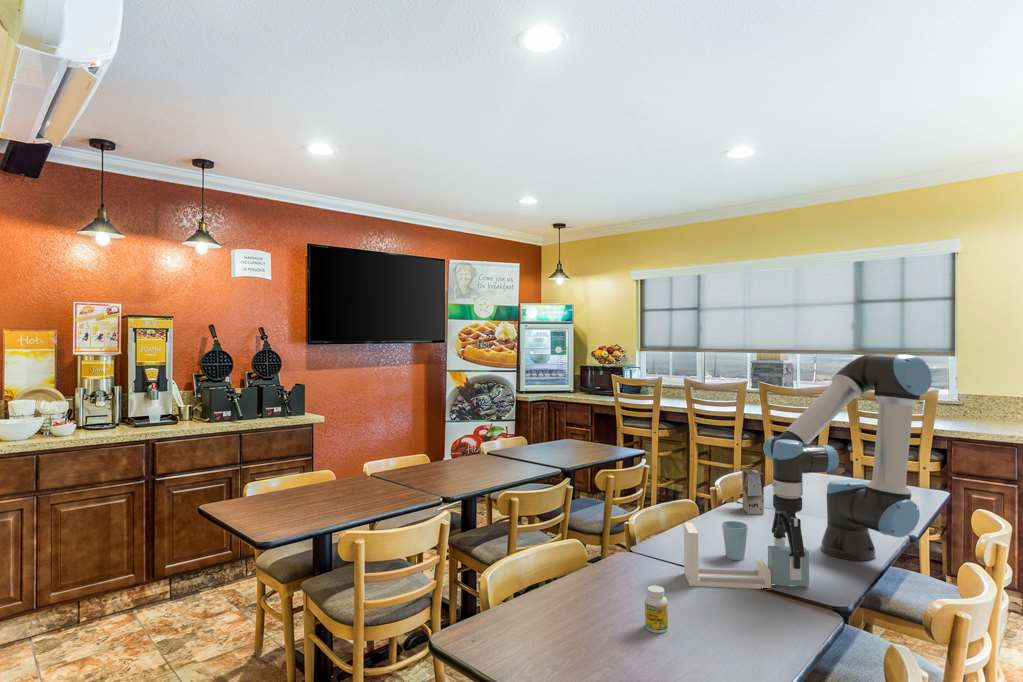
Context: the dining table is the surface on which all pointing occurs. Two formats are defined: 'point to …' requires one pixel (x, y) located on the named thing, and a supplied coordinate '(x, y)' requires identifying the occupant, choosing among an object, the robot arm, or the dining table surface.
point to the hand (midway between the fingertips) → (787, 569)
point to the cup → (735, 539)
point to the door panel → (786, 566)
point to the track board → (720, 569)
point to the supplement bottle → (656, 610)
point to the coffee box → (753, 491)
